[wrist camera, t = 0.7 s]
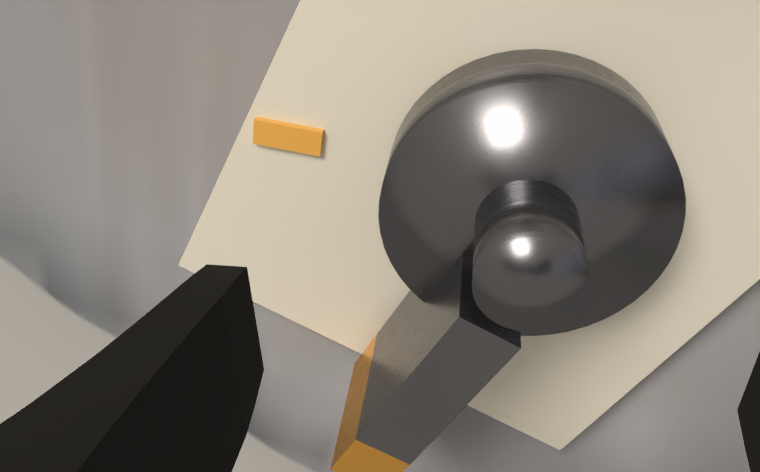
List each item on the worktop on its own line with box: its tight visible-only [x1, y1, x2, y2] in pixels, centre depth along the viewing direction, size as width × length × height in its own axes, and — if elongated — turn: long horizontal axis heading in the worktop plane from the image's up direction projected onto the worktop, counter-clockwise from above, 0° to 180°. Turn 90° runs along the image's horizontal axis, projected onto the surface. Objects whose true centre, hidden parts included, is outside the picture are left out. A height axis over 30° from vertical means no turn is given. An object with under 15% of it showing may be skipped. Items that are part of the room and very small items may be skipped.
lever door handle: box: [331, 49, 686, 472], centre depth 17 cm, size 12×7×4 cm, turn 152°
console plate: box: [179, 0, 760, 450], centre depth 18 cm, size 14×16×1 cm
